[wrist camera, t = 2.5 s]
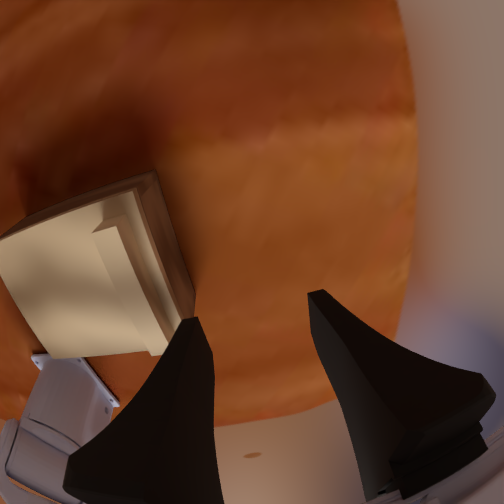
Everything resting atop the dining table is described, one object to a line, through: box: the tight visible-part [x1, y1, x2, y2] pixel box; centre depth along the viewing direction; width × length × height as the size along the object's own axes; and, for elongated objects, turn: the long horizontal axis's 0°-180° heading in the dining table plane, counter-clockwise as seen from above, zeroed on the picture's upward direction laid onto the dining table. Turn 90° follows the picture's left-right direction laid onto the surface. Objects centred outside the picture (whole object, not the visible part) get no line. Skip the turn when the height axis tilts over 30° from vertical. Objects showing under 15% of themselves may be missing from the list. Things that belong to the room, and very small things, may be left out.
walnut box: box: [0, 169, 196, 319], centre depth 18 cm, size 10×12×5 cm
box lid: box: [0, 188, 184, 359], centre depth 15 cm, size 10×12×2 cm
